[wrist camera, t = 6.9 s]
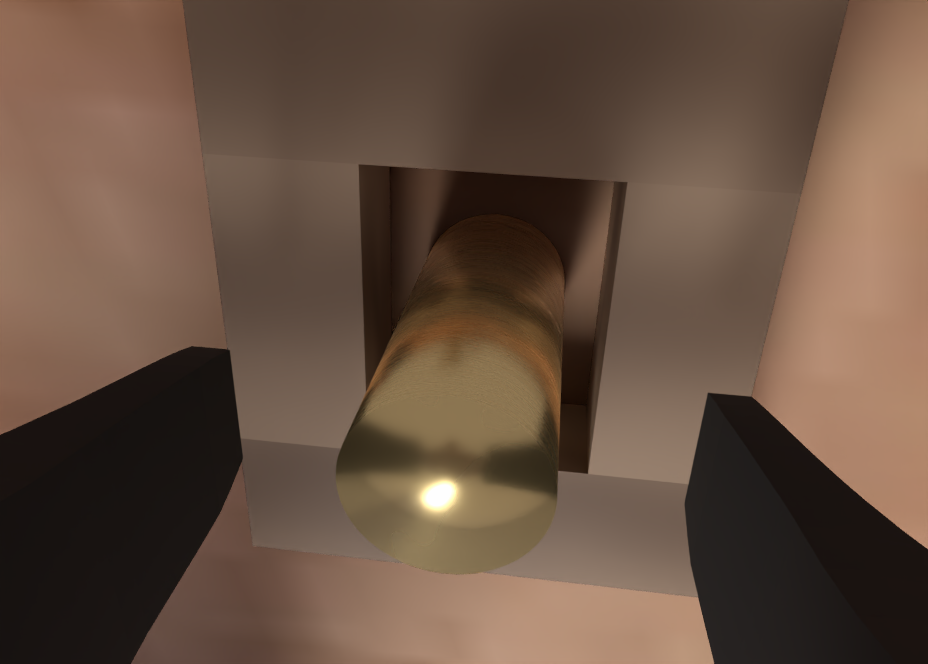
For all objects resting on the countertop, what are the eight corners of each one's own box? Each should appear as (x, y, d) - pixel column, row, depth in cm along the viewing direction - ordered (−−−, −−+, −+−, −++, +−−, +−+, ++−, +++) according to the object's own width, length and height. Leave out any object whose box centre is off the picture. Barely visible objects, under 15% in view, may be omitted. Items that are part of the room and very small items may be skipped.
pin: (548, 354, 17) (532, 594, 11) (416, 327, 17) (326, 548, 11) (579, 230, 16) (581, 424, 10) (435, 201, 16) (345, 374, 10)
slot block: (686, 519, 19) (701, 597, 17) (288, 476, 20) (252, 546, 17) (804, -21, 13) (851, -11, 11) (239, -45, 14) (177, -39, 12)
